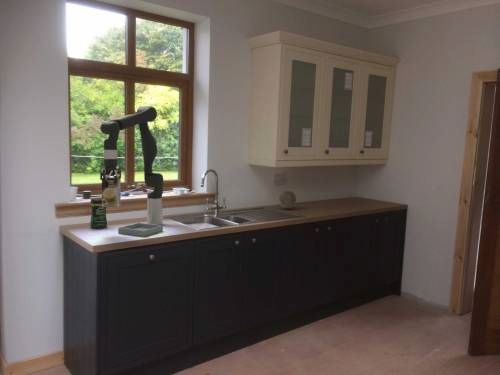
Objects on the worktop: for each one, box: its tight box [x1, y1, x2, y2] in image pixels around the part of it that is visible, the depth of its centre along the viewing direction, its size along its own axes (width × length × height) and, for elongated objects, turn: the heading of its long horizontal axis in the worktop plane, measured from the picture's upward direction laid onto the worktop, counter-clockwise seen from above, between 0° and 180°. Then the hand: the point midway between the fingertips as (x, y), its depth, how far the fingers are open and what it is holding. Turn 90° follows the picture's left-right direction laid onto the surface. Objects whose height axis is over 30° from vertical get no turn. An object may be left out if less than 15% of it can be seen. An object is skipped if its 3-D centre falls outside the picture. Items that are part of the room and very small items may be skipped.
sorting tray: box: [117, 222, 164, 238], centre depth 253 cm, size 18×18×4 cm
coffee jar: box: [89, 196, 108, 229], centre depth 263 cm, size 10×8×19 cm
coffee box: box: [101, 176, 122, 208], centre depth 242 cm, size 9×6×16 cm
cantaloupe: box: [279, 190, 297, 210], centre depth 358 cm, size 14×14×15 cm
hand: (111, 186), depth 241 cm, fingers closed on coffee box, 8 cm apart
